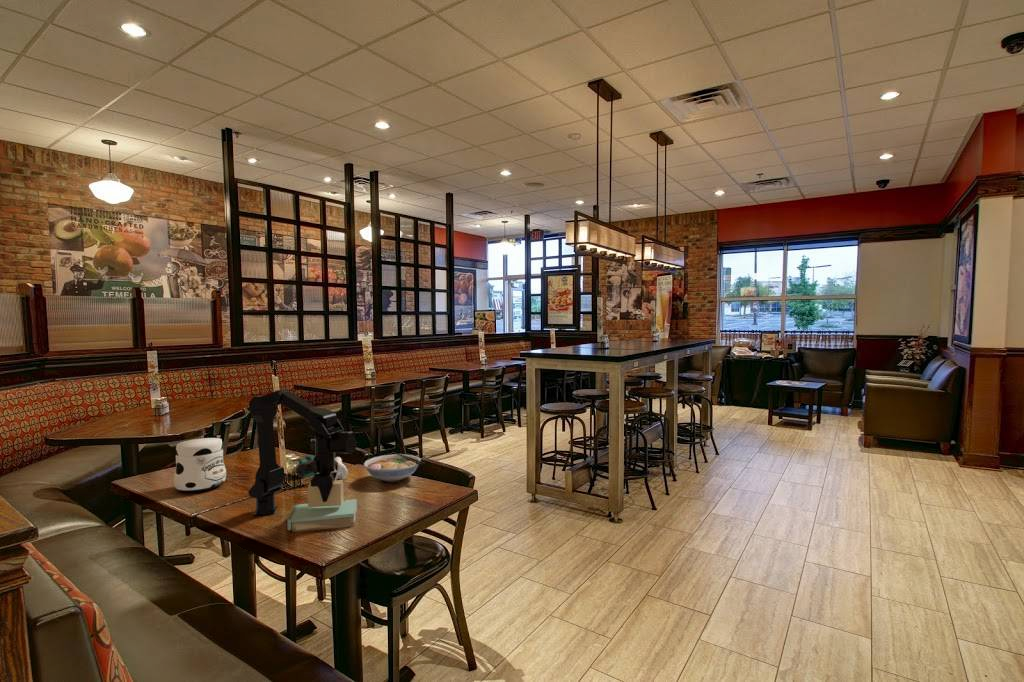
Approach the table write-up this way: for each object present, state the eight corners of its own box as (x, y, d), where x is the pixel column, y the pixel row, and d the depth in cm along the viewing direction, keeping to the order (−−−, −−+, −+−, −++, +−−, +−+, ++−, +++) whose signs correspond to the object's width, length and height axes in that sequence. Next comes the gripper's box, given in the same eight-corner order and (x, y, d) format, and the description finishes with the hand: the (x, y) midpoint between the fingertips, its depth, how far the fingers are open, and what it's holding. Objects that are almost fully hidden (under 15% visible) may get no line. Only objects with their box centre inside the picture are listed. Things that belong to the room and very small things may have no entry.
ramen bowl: (354, 477, 202) (354, 457, 201) (405, 467, 216) (404, 449, 216) (378, 493, 182) (378, 471, 182) (432, 481, 196) (432, 461, 196)
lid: (295, 514, 160) (295, 504, 160) (357, 508, 165) (356, 499, 165) (287, 530, 148) (287, 519, 148) (354, 523, 152) (354, 513, 152)
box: (300, 516, 161) (299, 507, 160) (356, 510, 165) (356, 502, 165) (292, 532, 148) (292, 522, 148) (354, 526, 152) (354, 516, 152)
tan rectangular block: (311, 502, 158) (311, 481, 157) (343, 501, 159) (343, 479, 159) (308, 507, 154) (307, 485, 153) (340, 505, 155) (340, 483, 155)
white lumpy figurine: (316, 478, 201) (316, 456, 201) (347, 475, 205) (346, 454, 205) (316, 486, 190) (315, 464, 190) (348, 483, 195) (348, 460, 195)
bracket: (318, 474, 207) (317, 456, 207) (304, 478, 201) (304, 460, 201) (291, 468, 216) (291, 450, 216) (277, 472, 210) (277, 454, 210)
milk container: (224, 491, 186) (222, 444, 185) (169, 498, 178) (168, 449, 178) (228, 478, 201) (227, 435, 201) (178, 484, 194) (177, 440, 194)
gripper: (303, 445, 163) (304, 491, 163) (292, 460, 145) (293, 512, 145) (338, 443, 166) (339, 489, 166) (331, 458, 147) (332, 509, 148)
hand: (325, 499), depth 156 cm, fingers closed on tan rectangular block, 4 cm apart
